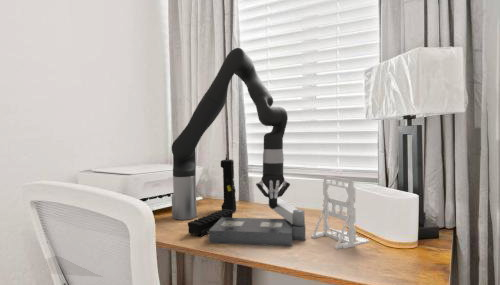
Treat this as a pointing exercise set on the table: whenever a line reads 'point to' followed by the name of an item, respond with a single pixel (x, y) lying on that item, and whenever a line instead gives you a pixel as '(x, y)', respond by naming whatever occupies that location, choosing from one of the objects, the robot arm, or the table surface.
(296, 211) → the bar
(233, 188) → the portable radio
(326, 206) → the film strip holder
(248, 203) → the table surface
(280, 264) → the table surface
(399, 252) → the table surface
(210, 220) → the rail mount
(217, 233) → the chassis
